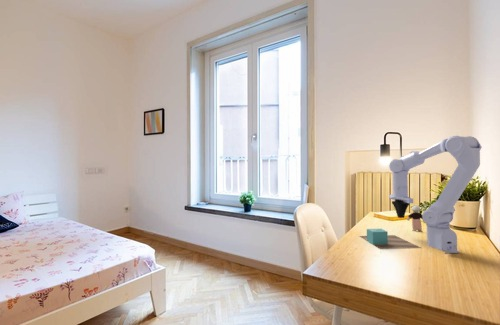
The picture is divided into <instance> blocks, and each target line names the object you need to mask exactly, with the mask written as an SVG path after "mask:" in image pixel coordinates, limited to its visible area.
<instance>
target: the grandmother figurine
mask: <svg viewBox="0 0 500 325" xmlns="http://www.w3.org/2000/svg"><path fill="white" fill-rule="evenodd" d="M411 210H412V213H409V215H408V216H407V218H406V220H407V221H410V219H412V220H411V223H412V224H411V226H412V231H411V232H416V233H417V232H418V233H423V229H422V226H423V225H422V221H423V222H424V220H423V217H422V215H423V213H421V212H420V210H421V209H420V206H419V205H412V207H411Z"/></svg>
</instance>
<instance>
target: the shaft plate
mask: <svg viewBox="0 0 500 325" xmlns="http://www.w3.org/2000/svg"><path fill="white" fill-rule="evenodd" d="M359 237H360V238H361V239H363V240H364V241H366V242H368V241H367V235H359ZM368 243H369V244H371V243H370V242H368ZM371 245H372V246H374V247H376V248H377V249H379V250H400V249H404V250H405V249H422V247H421V246H419V245H416V244H414V243H412V242H410V241H409V240H406V239H404V238H401V237H400V236H397V235H395V234H388V244H377V245H373V244H371Z"/></svg>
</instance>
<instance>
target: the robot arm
mask: <svg viewBox="0 0 500 325" xmlns="http://www.w3.org/2000/svg"><path fill="white" fill-rule="evenodd" d="M481 150H482V145H481V143H480V142H479V140H478V139H477V138H476V137H474V136H469V135H467V136H460V135H452V136H450V137H447V138H445V139H442V140H441V141H439V142H438V143H435V144H434V145H432V146H430V147H428V148H426V149H424V150H421V151H417V150H412V151H410V152H409V154H406V155H405V156H400V158H398V159H397V158H394V159H392V160H391V161H390V163H389V165H388V166H389V167H388V168H389V170H390V171H391V172H392V194H388V195H389V196H388V198H389V200H394V201H391V204H392V205H393V208H394V209H395V212H396V216H397V218H398V219H402V218H403V219H404V218H405V215H406V213H407V210H408V207H409V206H410V204H414V198H411V197H409V188H408V186H409V185H408V184H409V182H408V179H409V178H408V175H409V171H410V170H411V169H413V168H416V167H417V166H420V165H423V164H424V163H425V160H426V159H430V158H432V157H435V156H437V155H440V154H442V153H445V152H447V153H449V154H450V155H451V156H452V157H453V158H454V159H455V161H456V162H457V164H458V165H457V166H456V169H455V170H454V171H453V173H452V175H451V177H450V178H449V180H448V182H446V185H445V186H444V188H443V190H442V191H441V193H440V195H439V196H438V198H437V200H436V201H434V202H433V203H431V205H430V206H429V207H428V208H427V209H425V210H424V211H423V212H422V217H423V220H424V221H423V220H422V221H423V222H424V223H425V226H426V243H427V246H428V247H431V248H434V249H436V250H439V251H443V252H444V251H445V252H444V253H445V254H455V253H456V254H458V253H461V252H460V250H458V235H457V233H456V232H455V231H454V230H453V229H452V228H451V226H450V225H451V222H453V220H454V213H455V211H456V209H455V206H456V204H457V202H458V200H459V199H460V198H461V195H463V193H464V191H465V190H466V188H467V186H468V185H469V183H470V182H471V180H472V179H473V177H474V176H475V174H476V172H477V171H478V169H479V168H480V165H481V154H480V153H481V152H480V151H481Z"/></svg>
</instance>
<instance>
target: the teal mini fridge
mask: <svg viewBox="0 0 500 325" xmlns="http://www.w3.org/2000/svg"><path fill="white" fill-rule="evenodd" d="M388 235H389V233H388V231H387V230H384V229H383V228H367V229H366V236H367V241H366V242H368V243H369V242H370V243H369V244H371V245H372V244H373V245H372V246H374V245H377V244H388Z"/></svg>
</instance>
